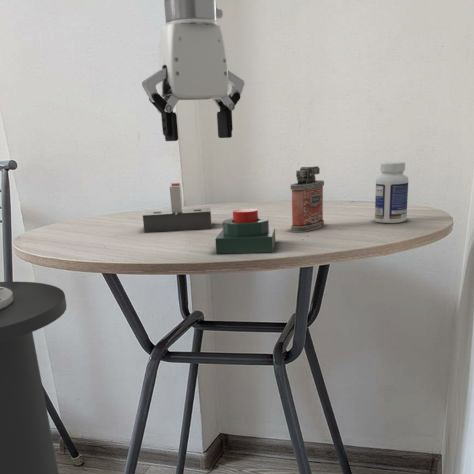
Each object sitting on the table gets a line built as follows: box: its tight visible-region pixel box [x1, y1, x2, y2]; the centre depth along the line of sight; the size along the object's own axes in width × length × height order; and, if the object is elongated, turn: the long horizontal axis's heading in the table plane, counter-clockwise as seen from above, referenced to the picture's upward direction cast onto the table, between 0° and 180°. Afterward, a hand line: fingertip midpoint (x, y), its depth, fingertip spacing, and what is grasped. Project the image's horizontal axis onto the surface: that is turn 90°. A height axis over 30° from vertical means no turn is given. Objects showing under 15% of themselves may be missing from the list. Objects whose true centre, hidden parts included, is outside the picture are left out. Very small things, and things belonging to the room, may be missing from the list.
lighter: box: [290, 165, 325, 233], centre depth 98 cm, size 8×3×10 cm, turn 143°
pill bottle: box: [374, 161, 409, 224], centre depth 100 cm, size 5×5×10 cm
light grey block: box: [169, 182, 184, 213], centre depth 105 cm, size 4×2×5 cm, turn 3°
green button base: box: [215, 216, 276, 255], centre depth 85 cm, size 8×8×4 cm
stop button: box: [232, 208, 259, 223], centre depth 84 cm, size 4×4×2 cm
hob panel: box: [142, 207, 212, 233], centre depth 106 cm, size 9×12×3 cm
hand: (199, 139), depth 92 cm, fingers open, 9 cm apart
